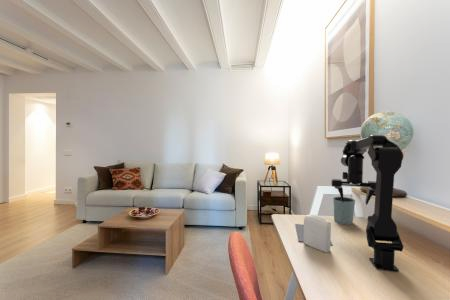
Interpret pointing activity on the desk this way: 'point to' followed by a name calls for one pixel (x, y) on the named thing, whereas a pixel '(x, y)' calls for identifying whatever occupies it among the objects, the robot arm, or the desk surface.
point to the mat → (302, 233)
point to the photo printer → (317, 232)
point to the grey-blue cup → (343, 210)
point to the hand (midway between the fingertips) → (354, 203)
